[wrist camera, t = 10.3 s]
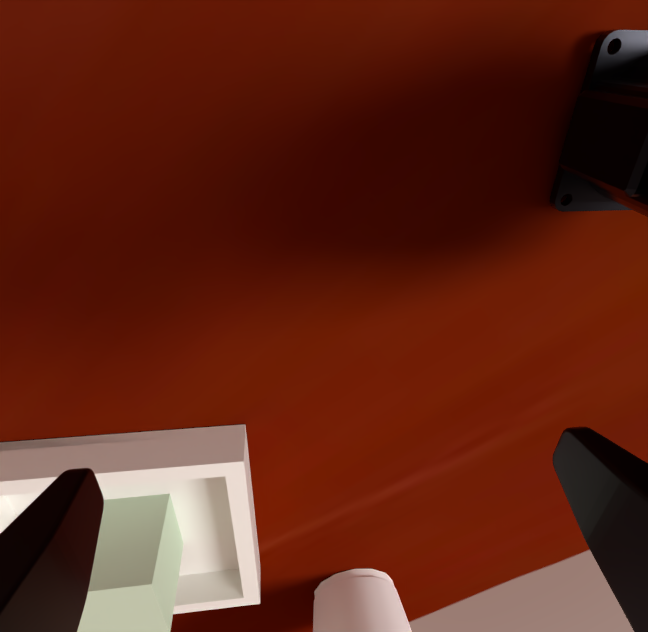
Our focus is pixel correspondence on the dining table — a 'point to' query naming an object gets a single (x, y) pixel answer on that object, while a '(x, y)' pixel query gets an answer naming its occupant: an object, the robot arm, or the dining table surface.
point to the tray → (154, 479)
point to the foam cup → (358, 603)
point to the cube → (134, 567)
